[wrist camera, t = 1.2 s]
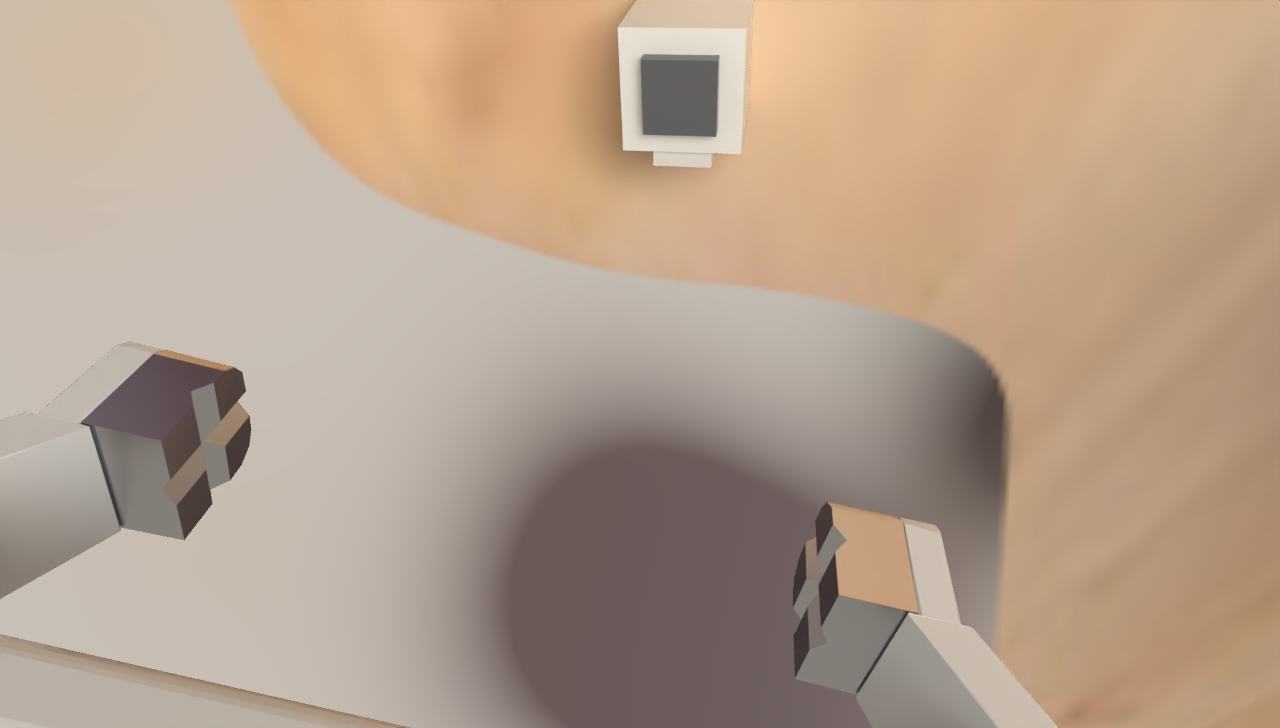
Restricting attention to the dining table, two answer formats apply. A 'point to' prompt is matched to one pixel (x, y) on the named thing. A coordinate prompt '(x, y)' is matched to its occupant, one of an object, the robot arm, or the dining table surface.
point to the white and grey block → (685, 78)
